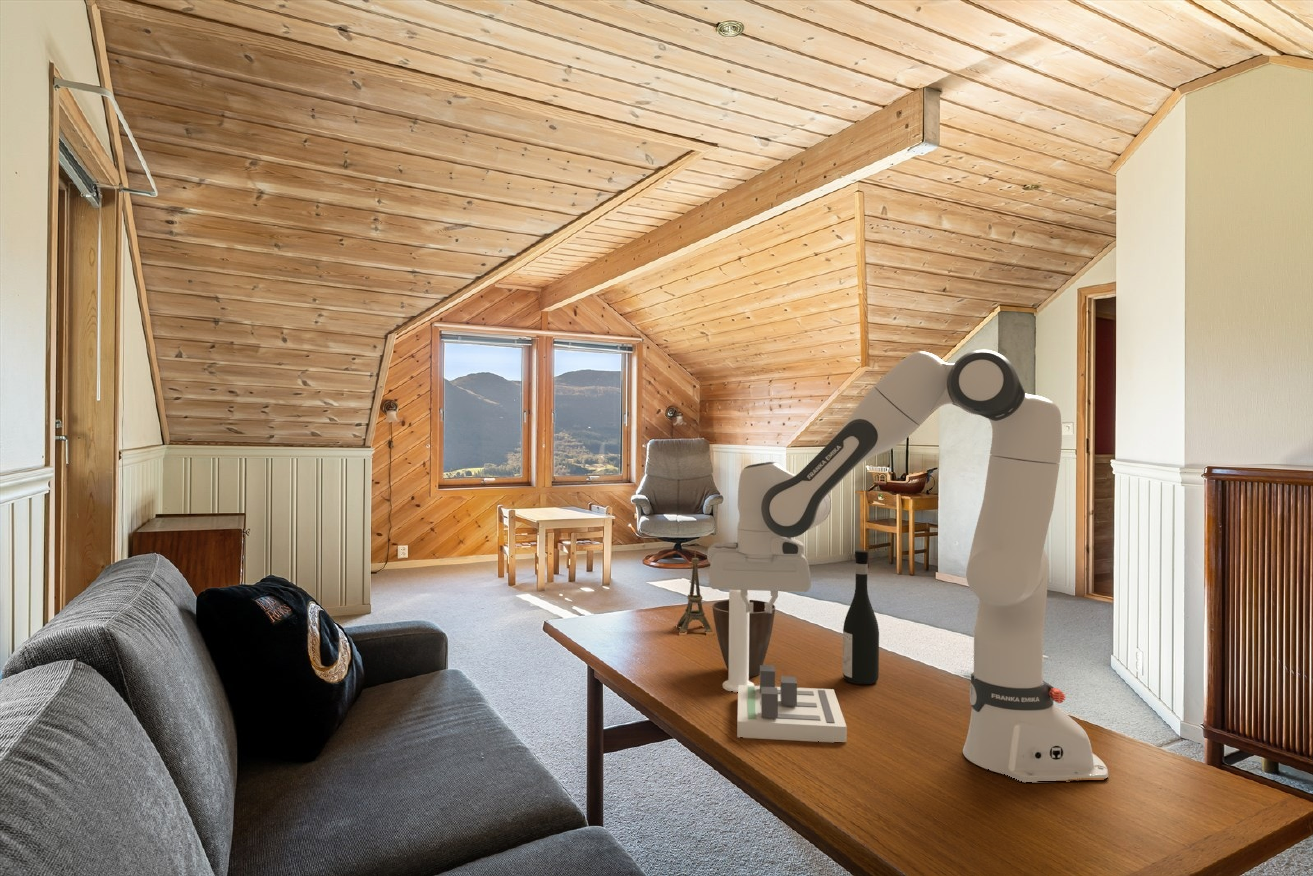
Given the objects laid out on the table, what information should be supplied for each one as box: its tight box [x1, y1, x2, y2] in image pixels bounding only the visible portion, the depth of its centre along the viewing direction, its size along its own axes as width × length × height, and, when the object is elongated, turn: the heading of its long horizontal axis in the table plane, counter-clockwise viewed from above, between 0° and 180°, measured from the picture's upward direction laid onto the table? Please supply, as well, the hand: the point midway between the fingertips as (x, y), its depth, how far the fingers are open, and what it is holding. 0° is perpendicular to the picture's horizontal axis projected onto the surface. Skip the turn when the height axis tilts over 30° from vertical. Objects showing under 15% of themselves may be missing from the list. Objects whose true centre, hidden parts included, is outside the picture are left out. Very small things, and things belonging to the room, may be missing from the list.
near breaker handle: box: [761, 686, 778, 718], centre depth 146 cm, size 3×4×4 cm
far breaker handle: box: [759, 664, 776, 692], centre depth 160 cm, size 3×4×4 cm
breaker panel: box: [736, 685, 848, 743], centre depth 152 cm, size 20×21×3 cm
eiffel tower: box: [676, 548, 714, 633], centre depth 221 cm, size 11×11×25 cm
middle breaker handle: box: [779, 675, 798, 706], centre depth 152 cm, size 3×4×4 cm
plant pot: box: [712, 599, 776, 678], centre depth 182 cm, size 15×15×16 cm
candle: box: [722, 590, 755, 693], centre depth 171 cm, size 7×7×25 cm
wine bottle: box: [842, 549, 880, 686], centre depth 177 cm, size 8×8×30 cm
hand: (758, 612), depth 153 cm, fingers open, 2 cm apart
